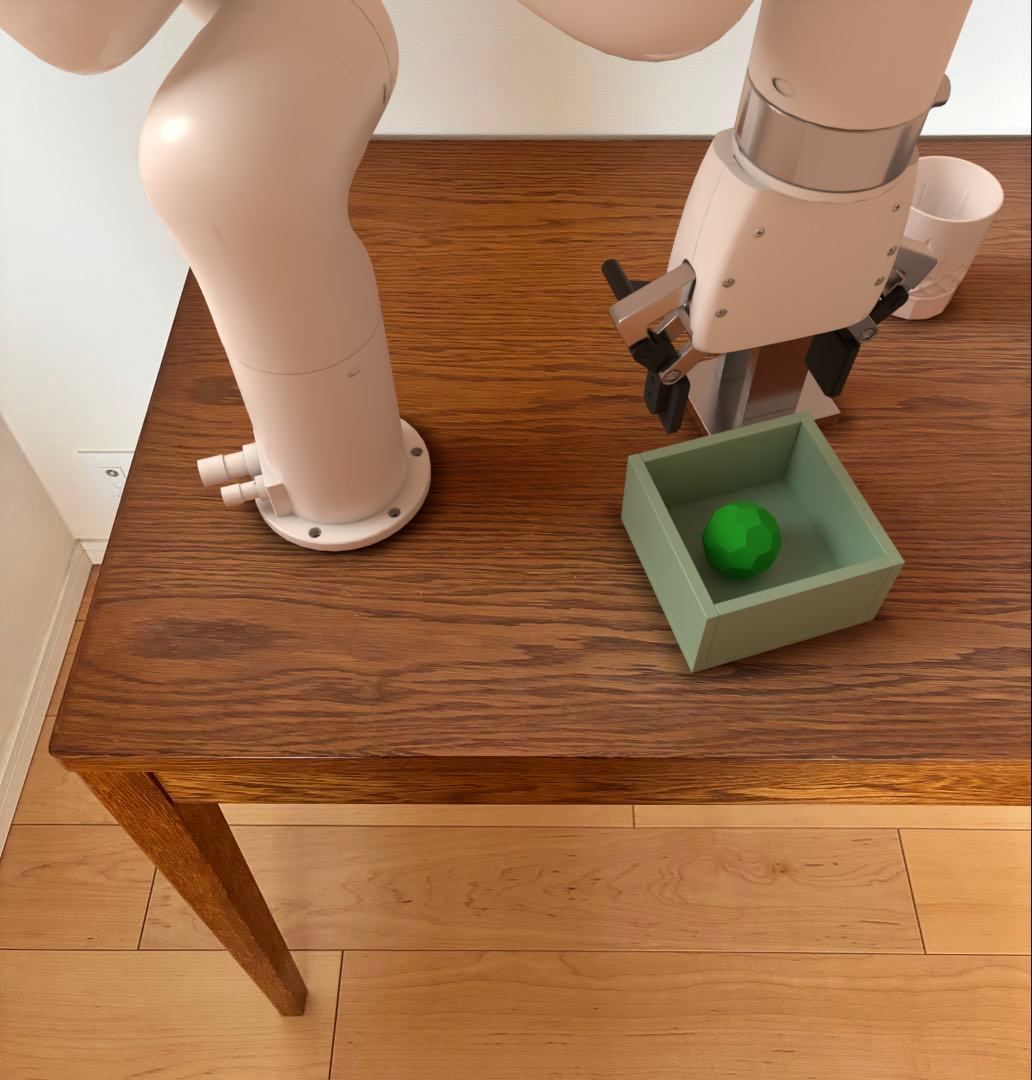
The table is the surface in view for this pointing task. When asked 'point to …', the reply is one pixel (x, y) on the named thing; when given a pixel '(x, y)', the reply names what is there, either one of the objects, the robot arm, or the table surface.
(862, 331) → the robot arm
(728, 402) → the bracket
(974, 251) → the white cup
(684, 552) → the bin
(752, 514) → the polyhedron
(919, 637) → the table surface
